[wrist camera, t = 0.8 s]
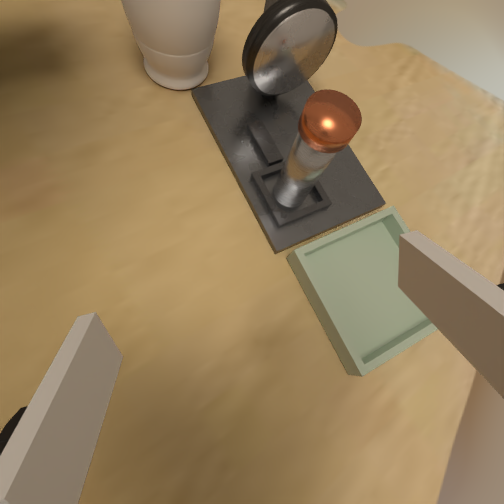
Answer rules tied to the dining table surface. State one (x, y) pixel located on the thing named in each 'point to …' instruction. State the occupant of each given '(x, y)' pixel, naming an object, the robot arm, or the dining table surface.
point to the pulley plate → (283, 124)
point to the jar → (174, 38)
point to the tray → (361, 291)
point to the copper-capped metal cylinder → (316, 143)
